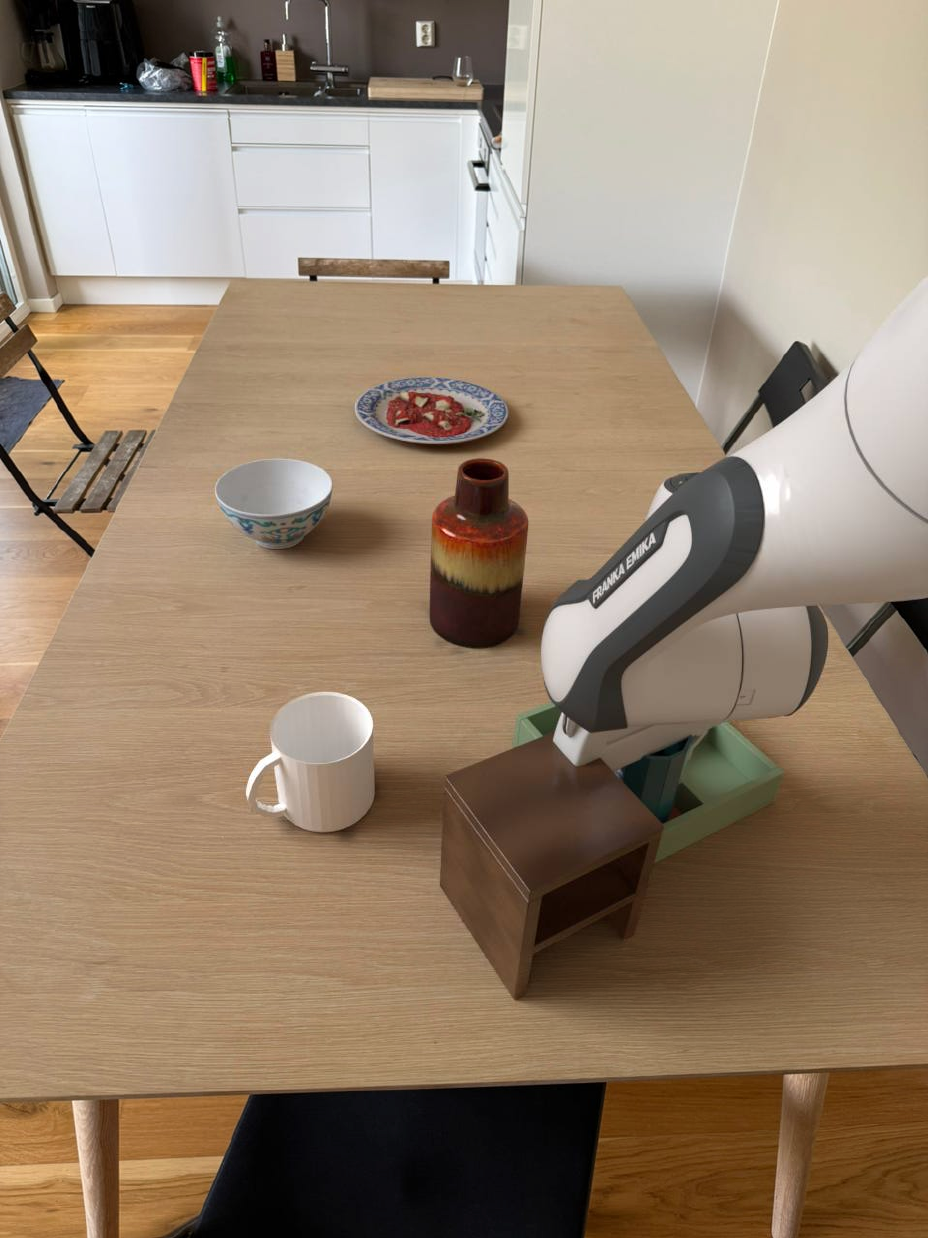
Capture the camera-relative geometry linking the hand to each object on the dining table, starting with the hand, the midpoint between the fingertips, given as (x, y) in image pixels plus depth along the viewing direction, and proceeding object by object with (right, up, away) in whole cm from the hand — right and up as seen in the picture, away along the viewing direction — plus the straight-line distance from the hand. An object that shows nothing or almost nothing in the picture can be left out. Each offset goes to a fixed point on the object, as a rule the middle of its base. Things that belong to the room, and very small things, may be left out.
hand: (643, 773), depth 80 cm
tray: (+1, -1, +9) cm, 9 cm away
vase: (-15, +14, +27) cm, 34 cm away
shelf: (-10, -11, -4) cm, 15 cm away
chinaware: (-41, +25, +40) cm, 63 cm away
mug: (-31, -3, +4) cm, 31 cm away
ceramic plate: (-22, +48, +71) cm, 88 cm away
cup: (0, -3, +2) cm, 4 cm away
